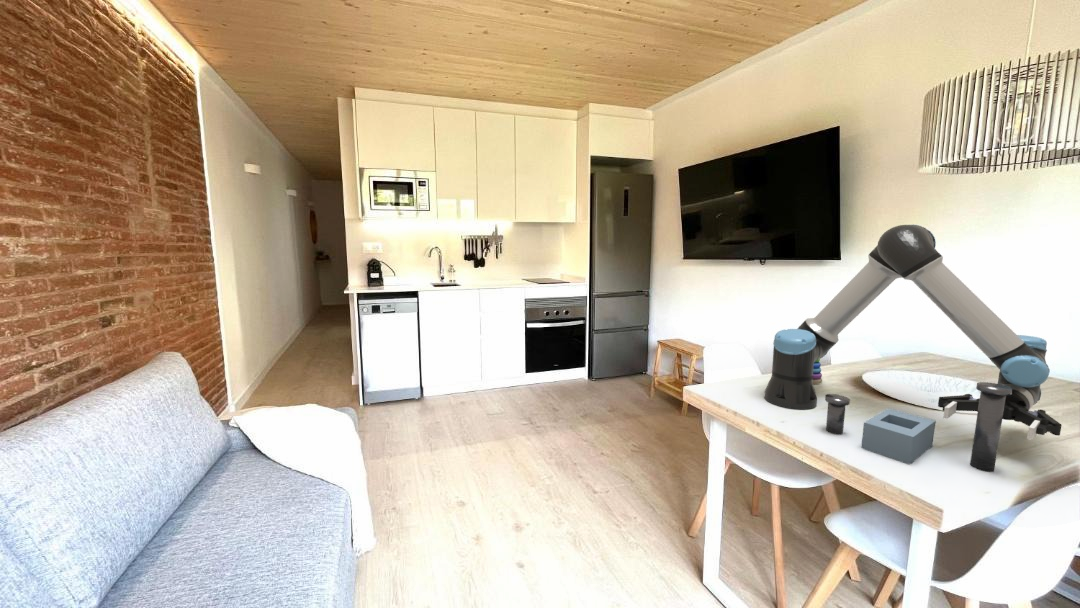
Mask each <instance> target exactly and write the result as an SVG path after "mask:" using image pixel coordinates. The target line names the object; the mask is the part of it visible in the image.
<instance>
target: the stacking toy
mask: <svg viewBox="0 0 1080 608" xmlns="http://www.w3.org/2000/svg"><path fill="white" fill-rule="evenodd" d="M820 361H821V359H819V360H817V361H816V362H814V366H813V377H812V382H813V385H820V384H822V383H823V378H822V377H823V373H822V368H821V362H820Z"/></svg>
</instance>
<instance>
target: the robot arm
mask: <svg viewBox="0 0 1080 608" xmlns="http://www.w3.org/2000/svg"><path fill="white" fill-rule="evenodd" d="M936 242H937V241H936V237H935V236H934V234H933V232H931V231H930V230H929V229H927V228H926V227H924V226H922V225H918V224H900V225H896V226H893V227H890V228H889V229H887V230H886V231H885V232H884V233H883V234H881V235H880V237H879V239H878V241H877V245H876V246H875V247H874V248H873V249H872V250H871V251H870V252H869V253H868V262H867V263H866V264H865V265H864V266H863V267H862V268H861V270H860V271H859V272H858V273H857V274H855V276H853V278H851V280H850V281H848V283H847V284H846V285H845V286H844V287H843V288H842V289H841V290H840V291H839V292H838V293H837V294H836V295H835V296H834V297H833V298H832V299H831V300H830V301H829V302H828V303H827V304H826V305H825V306H824V308H822V310H820V311H819V312H818V313H817V315H815V317H812V318H811V317H810V318H809V317H808V318H806V319H805V320H804V321H803V322H802V323H801V324H800V325H799V326H798V327H797V328H787V329H781V330H779V331H777V332H776V333H775V334H774V338H773V342H772V344H773V348H772V349H773V351H772V365H771V367H772V369H771V377H770V379H769V381H768V383H767V386H766V388H765V390H764V399H765V400H766V401H768V402H769V403H771V404H772V405H776V406H779V407H782V408H787V409H793V410H808V409H809V410H810V409H815V408H816V407H817V404H818V397H817V393H816V390H815V387H814V384H813V382H812V377H813V366H814V362H816V361H817V360H819V359H820V360H821V359H822V358H823V357H826V355H827V354H828V352H829V351H830V350H831V349H832V348H833V347H834V346H835V345H836V344H837V343H838V341H839V334H840V333H842V331H843V330H844V329H846V327H847V326H848V325H850V324H851V322H853V321H854V320H855V319H856V318H857V317H858V316H859V315H860V314H861V313H862V312H863V311H864V310H865V309H866V308H867V307H868V306H869V305H871V303H872V302H873V301H875V299H876V298H878V297H879V296H880V295H881V294H882V293H883V292H884V291H885V290H886V289H887V288H888V287H889V286H890V285H891V284H892V283H893V282H894V281H896V280H897V279H901V278H903V279H904V280H908V281H912V282H913V283H914V284H915V286H917V288H918V289H919V290H921V291H922V293H923V294H925V295H926V297H927V298H929V299H930V300H931V301H932V303H934V304H935V305H936V306H937V307H938V308H939V309H940V310H941V312H943V314H945V316H947V318H948V319H950V321H951V322H953V323H954V324H955V325H956V327H957V328H958V329H960V330H961V332H962V333H964V335H965V336H966V337H967V338H968V339H969V340H970V341H971V342H972V343H973V344H974V345H975V346H976V347H977V348H978V349H979V350H980V351H982V353H983V354H984V355H985V356H987V358H988V359H989V360H990V361H991V362H992V363H993V365H994V366H996V367H997V369H998V370H999V372H998V378H997V384H1001V385H1005V386H1008V387H1010V388H1012V395H1009V396H1006V399H1005V405H1004V411H1003V418H1002V420H1005V421H1014V422H1017V423H1022V424H1024V425H1025V426H1027V427H1028V429H1027V436H1026V440H1029V441H1033V440H1034V439H1035V437H1036V436H1037V435H1040V436H1045V434H1047V433H1050V434H1051V435H1053V436H1060V435H1061V432H1062V427H1063V426H1062V425H1063V424H1061V422H1059V421H1057V420H1056V419H1055V418H1053V417H1052V416H1051V415H1048V413H1046V412H1047V411H1046V410H1045V409H1037V410H1035V409H1034V410H1031V409H1032V407H1033V406H1035V405H1036V404H1037V403H1038V402H1039V401H1040V399H1041V396H1042V389H1041V385H1042V384H1044V383H1045V382H1046V381H1047V380H1048V378H1049V375H1050V370H1051V369H1050V368H1049V365H1048V364H1047V361H1046V354H1047V351H1048V350H1047V344H1048V343H1047V341H1046V339H1044V338H1041V337H1038V336H1031V335H1026V334H1025V335H1022V334H1016V333H1015V332H1014V330H1012V328H1010V326H1008V325H1007V324H1006V323H1005V322H1004V321H1003V320H1002V319H1001V318H1000V317H999V316H998V315H997V314H996V313H994V311H993V310H992V309H991V308H990V307H989V306H987V304H986V303H985V302H983V300H981V299H980V298H979V296H977V295H976V294H975V293H974V292H973V291H972V290H971V289H970V288H969V287H968V286H967V285H966V284H965V283H964V282H963V281H962V280H960V278H959V277H958V276H957V275H956V274H955V273H953V272H952V270H950V269H949V268H948V267H947V266H946V265H945V264H944V263H943V258H944V256H943V255H942V254H941V253H940V252H939V251H938V250H937V249H936V244H937V243H936ZM979 400H980V397H979V398H974V396H973V394H970V393H966V394H962V395H947V396H946V395H945V396H939V397H938V404H937V407H938V408H942V411H943V419H946V420H947V419H949V418H950V417H952V416H953V415H955V413H957V412H959V411H961V412H962V411H963V412H977V413H978V407H979Z"/></svg>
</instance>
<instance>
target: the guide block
mask: <svg viewBox="0 0 1080 608" xmlns="http://www.w3.org/2000/svg"><path fill="white" fill-rule="evenodd" d="M936 422H937V421H936V420H935V419H932V418H928V417H924V416H919V415H917V414H912V413H908V412H904V411H901V410H897V409H892V408H889V407H888V408H887V409H884V410H883V411H881V412H879V413H878V414H876V415H875V416H873V417H870V418H869V419H868V420H865V421H864V422H863V429H862V438H861V449H863V450H865V451H866V450H867V451H870V452H872V453H874V454H877V455H881V456H883V457H886V458H890V459H893V460H895V461H899V462H902V463H904V464H907V465H911V464H912V463H913V462H915V461H916V460H917V459H919V458H920V457H921V456H922V455H924V453H926V452H927V451H928V450H929V449H931V447H933V445H934V439H935V438H934V437H935V429H936Z"/></svg>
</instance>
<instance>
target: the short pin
mask: <svg viewBox="0 0 1080 608" xmlns="http://www.w3.org/2000/svg"><path fill="white" fill-rule="evenodd" d="M824 401H825V402H826V403H828V404H827V413H826V414H827V415H826V423H825V424H826V425H825V431H826V432H827V433H829V434H832V435H843V434H844V426H845V417H846V415H845V414H846V406H849V405H850V402H851V399H850V398H849V397H848V396H845V395H842V394H836V393H835V394H834V393H827V394H825V397H824Z"/></svg>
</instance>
